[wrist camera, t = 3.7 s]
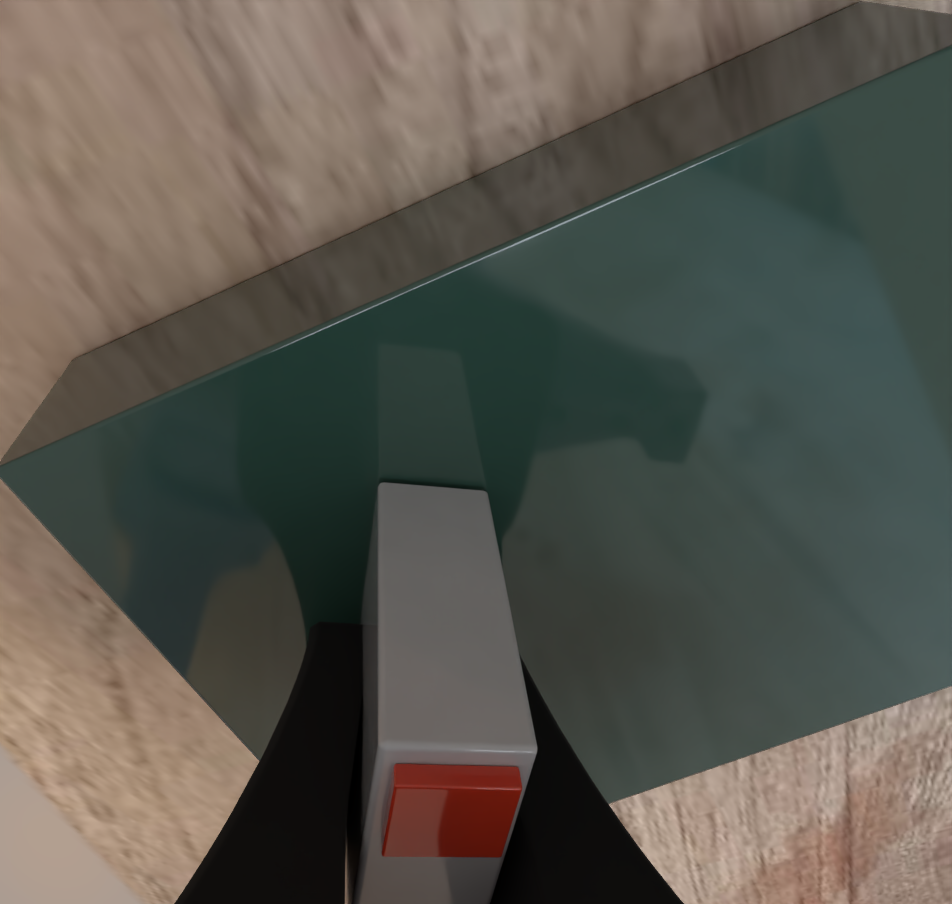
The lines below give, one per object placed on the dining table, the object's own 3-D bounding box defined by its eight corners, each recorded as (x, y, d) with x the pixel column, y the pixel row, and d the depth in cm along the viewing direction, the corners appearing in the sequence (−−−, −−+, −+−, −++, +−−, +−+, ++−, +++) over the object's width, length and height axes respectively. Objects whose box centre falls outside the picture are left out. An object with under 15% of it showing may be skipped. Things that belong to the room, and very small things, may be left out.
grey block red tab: (424, 789, 14) (442, 1095, 10) (338, 788, 13) (323, 1101, 10) (488, 488, 11) (546, 774, 7) (378, 478, 10) (378, 770, 7)
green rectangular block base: (373, 748, 18) (372, 886, 15) (70, 360, 12) (-10, 471, 10) (935, 542, 16) (1041, 657, 13) (862, -2, 11) (1011, 19, 8)
